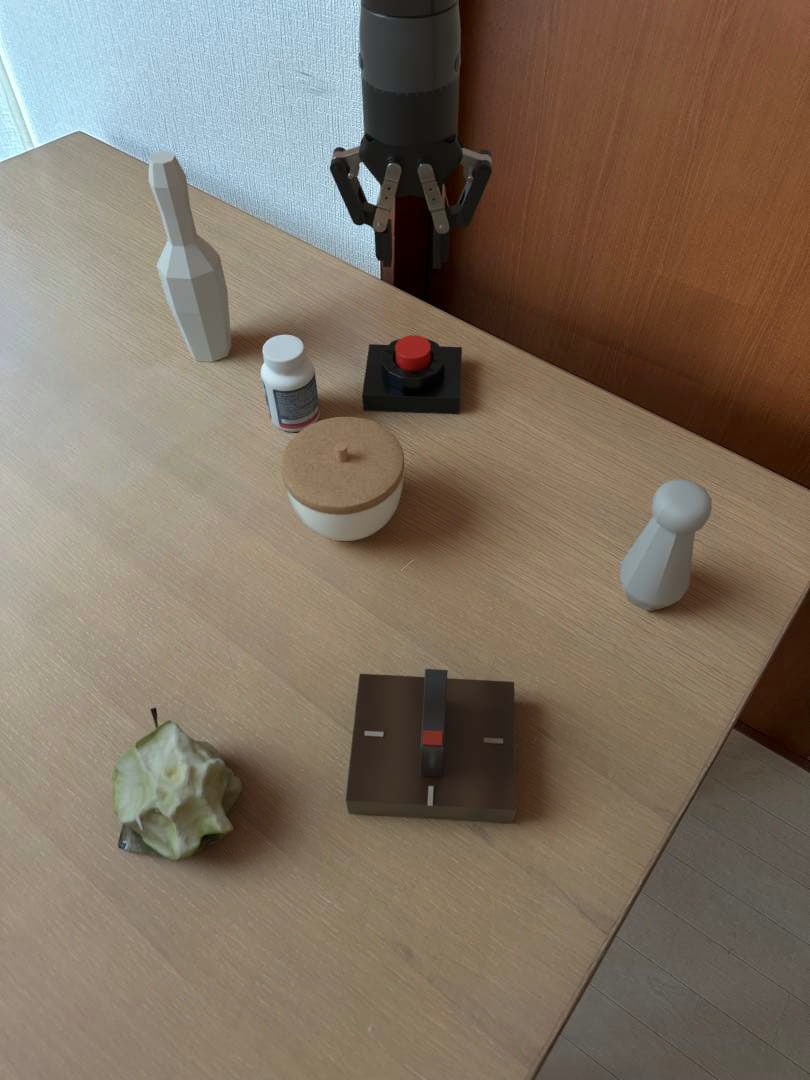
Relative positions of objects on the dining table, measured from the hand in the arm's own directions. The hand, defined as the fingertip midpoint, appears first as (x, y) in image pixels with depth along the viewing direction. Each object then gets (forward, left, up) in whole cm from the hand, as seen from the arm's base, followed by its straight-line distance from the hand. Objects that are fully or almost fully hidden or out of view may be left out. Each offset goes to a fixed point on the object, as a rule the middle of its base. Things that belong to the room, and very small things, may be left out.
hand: (412, 261), depth 76 cm
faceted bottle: (+23, -5, -15) cm, 28 cm away
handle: (-4, +41, -12) cm, 43 cm away
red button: (0, 0, -12) cm, 12 cm away
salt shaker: (-22, +25, -15) cm, 37 cm away
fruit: (+14, +46, -15) cm, 50 cm away
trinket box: (+5, +18, -15) cm, 24 cm away
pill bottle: (+12, +5, -15) cm, 20 cm away
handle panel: (-4, +41, -15) cm, 44 cm away
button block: (0, 0, -15) cm, 15 cm away
